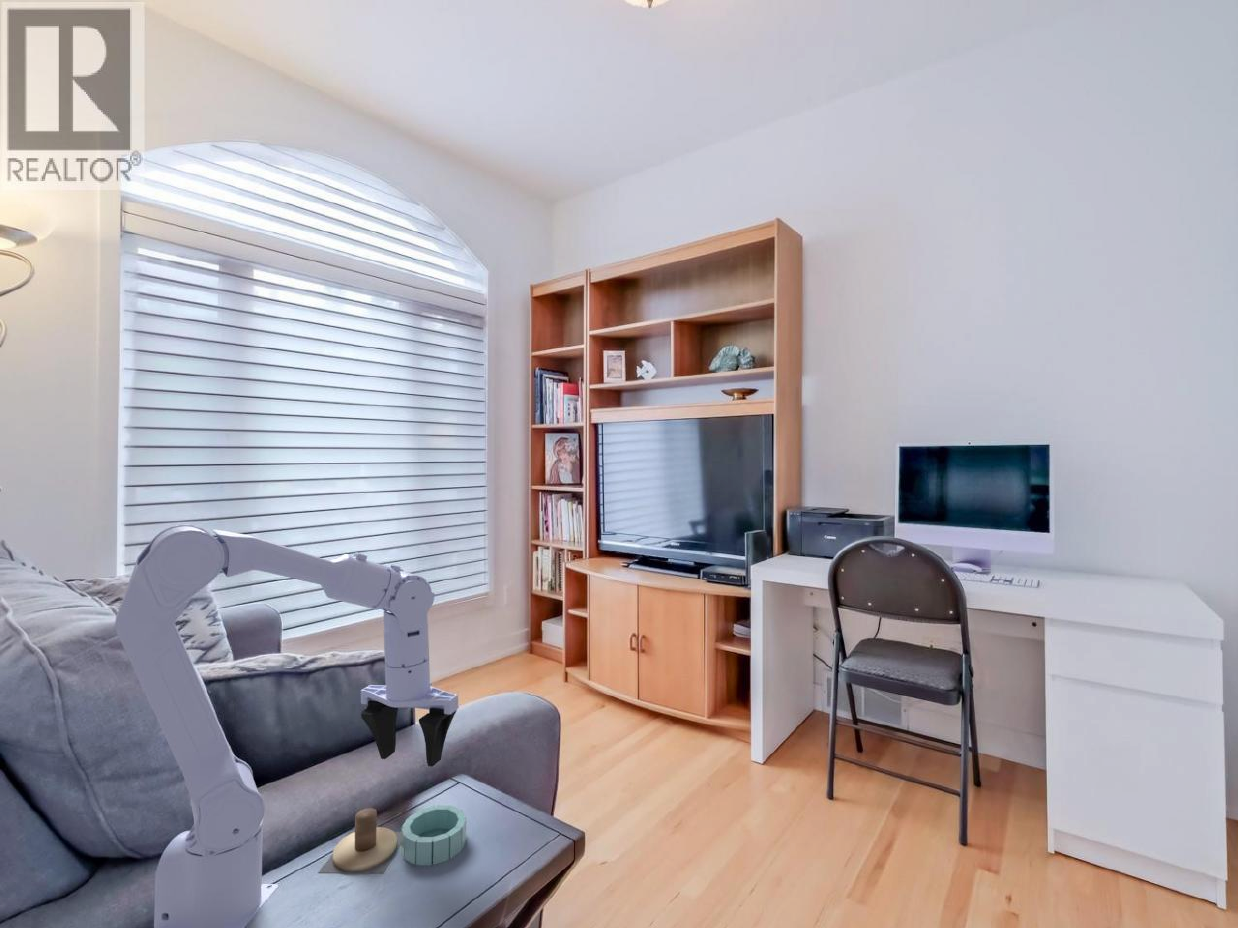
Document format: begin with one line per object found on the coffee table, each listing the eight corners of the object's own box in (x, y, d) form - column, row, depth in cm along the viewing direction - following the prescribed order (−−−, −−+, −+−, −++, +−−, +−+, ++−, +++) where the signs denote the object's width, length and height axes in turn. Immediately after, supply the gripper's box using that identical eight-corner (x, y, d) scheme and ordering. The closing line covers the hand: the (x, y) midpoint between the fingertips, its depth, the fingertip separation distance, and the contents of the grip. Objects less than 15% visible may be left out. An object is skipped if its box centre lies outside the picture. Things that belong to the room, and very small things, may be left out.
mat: (318, 875, 70) (318, 872, 70) (349, 834, 78) (349, 831, 78) (383, 875, 70) (383, 872, 70) (407, 835, 78) (407, 832, 78)
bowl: (392, 867, 71) (392, 841, 71) (415, 828, 79) (415, 805, 79) (455, 868, 71) (455, 842, 71) (472, 828, 79) (472, 805, 79)
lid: (320, 871, 70) (321, 831, 70) (350, 832, 78) (350, 797, 78) (382, 871, 70) (382, 832, 70) (405, 833, 78) (406, 797, 78)
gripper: (469, 654, 79) (473, 750, 79) (384, 647, 84) (387, 738, 84) (438, 672, 72) (442, 778, 73) (347, 664, 77) (351, 763, 77)
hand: (410, 758), depth 78 cm, fingers open, 7 cm apart
